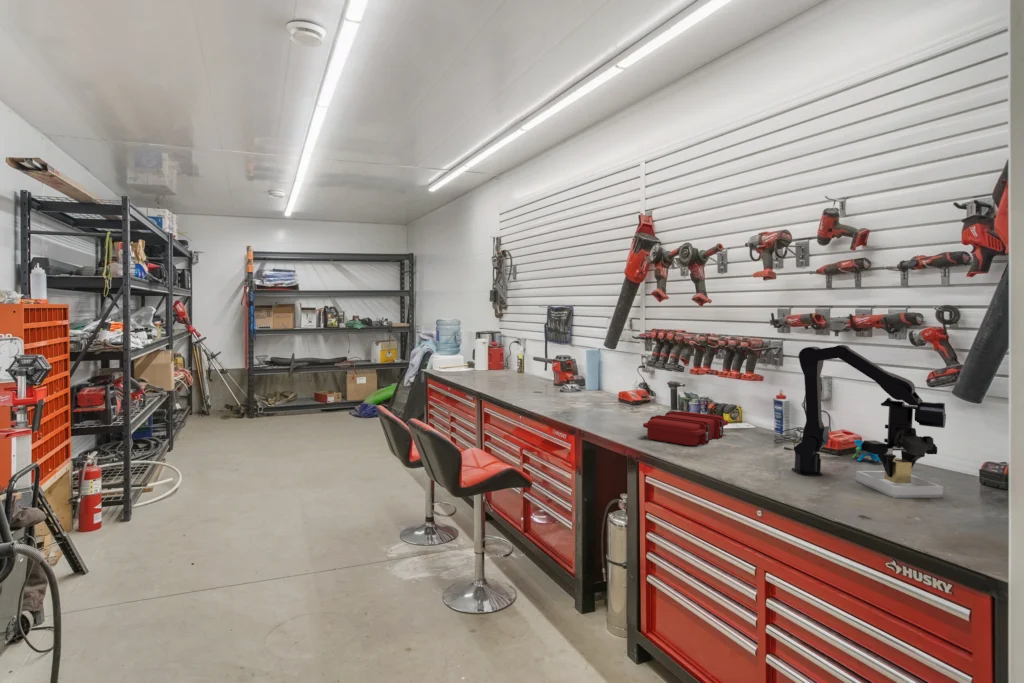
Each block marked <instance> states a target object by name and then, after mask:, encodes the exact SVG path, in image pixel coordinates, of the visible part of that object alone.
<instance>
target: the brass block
mask: <svg viewBox="0 0 1024 683" xmlns="http://www.w3.org/2000/svg"><path fill="white" fill-rule="evenodd" d="M912 470H913V467H912V462H909V461H906V460H903V459H902V458H894V459H893V471H892V477H888V476H887V473H886V471H885V470H884V471H885V479H886V480H888V481H891V482H893V483H895V484H900V483H911V475H912Z"/></svg>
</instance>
